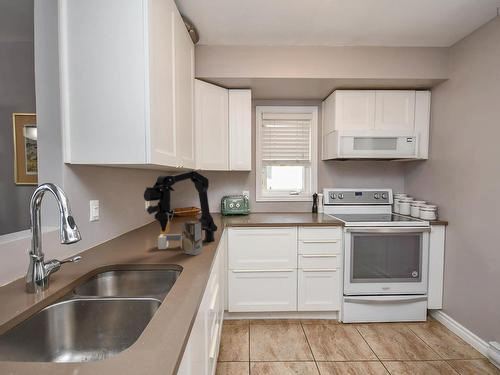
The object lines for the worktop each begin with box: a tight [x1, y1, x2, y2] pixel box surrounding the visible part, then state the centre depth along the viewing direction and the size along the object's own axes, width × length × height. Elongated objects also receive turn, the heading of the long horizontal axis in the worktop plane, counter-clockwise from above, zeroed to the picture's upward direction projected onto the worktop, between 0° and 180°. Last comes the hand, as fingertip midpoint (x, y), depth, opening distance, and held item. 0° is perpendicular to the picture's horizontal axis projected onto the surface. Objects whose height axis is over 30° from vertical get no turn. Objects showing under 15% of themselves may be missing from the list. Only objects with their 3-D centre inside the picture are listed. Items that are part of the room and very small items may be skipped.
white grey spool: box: [157, 233, 182, 250], centre depth 144 cm, size 16×7×7 cm, turn 97°
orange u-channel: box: [160, 221, 170, 235], centre depth 133 cm, size 7×3×7 cm, turn 7°
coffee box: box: [181, 220, 203, 256], centre depth 134 cm, size 9×6×16 cm
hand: (165, 229), depth 133 cm, fingers closed on orange u-channel, 7 cm apart
